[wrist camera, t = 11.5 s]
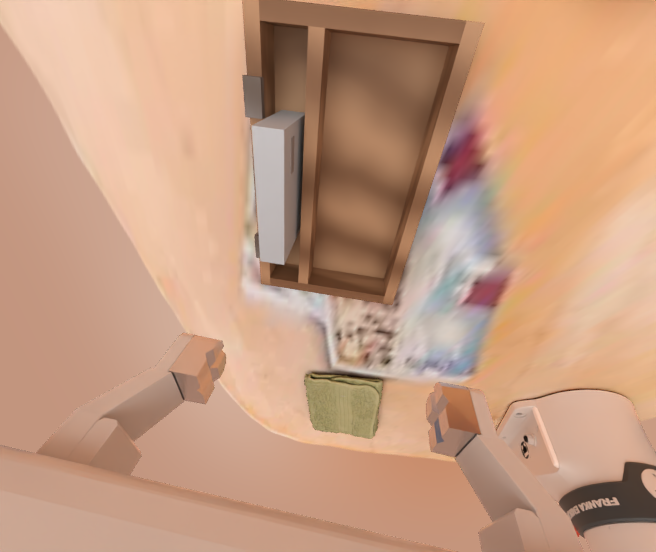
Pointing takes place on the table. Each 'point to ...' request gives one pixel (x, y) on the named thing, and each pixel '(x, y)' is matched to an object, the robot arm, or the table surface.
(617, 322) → the table surface
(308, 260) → the wooden tray
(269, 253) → the rectangular block
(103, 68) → the table surface
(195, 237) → the table surface
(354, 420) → the washcloth
